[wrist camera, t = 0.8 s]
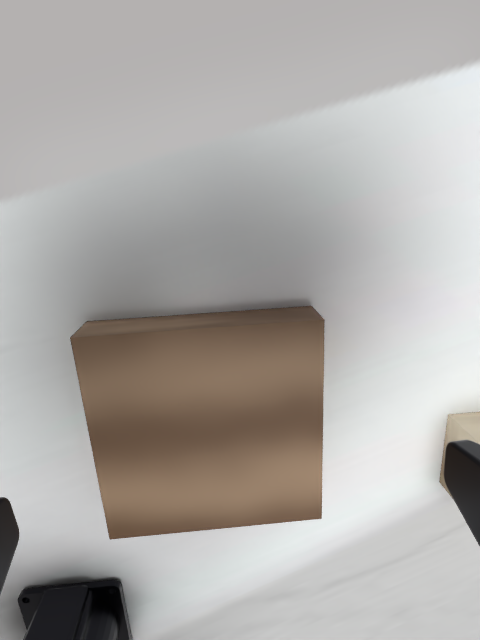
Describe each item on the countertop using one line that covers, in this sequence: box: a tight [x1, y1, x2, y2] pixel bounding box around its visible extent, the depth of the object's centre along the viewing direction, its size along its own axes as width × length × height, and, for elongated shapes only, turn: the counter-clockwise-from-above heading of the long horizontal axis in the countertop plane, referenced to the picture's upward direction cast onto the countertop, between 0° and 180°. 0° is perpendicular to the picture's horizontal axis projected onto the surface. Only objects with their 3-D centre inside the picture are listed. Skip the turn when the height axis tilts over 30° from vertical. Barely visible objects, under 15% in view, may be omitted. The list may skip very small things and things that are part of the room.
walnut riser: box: [70, 306, 324, 539], centre depth 22 cm, size 12×12×3 cm
